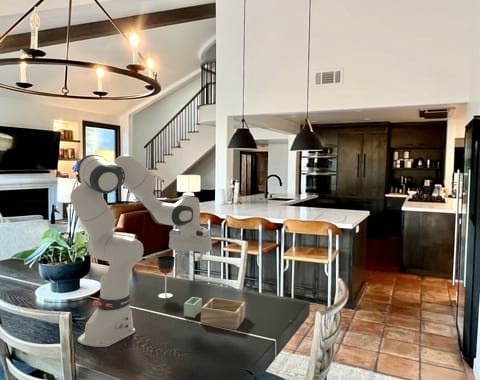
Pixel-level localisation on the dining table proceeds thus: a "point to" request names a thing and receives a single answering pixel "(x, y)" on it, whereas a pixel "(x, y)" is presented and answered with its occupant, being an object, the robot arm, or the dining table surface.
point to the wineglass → (165, 270)
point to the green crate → (192, 307)
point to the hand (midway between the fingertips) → (190, 260)
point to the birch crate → (223, 313)
